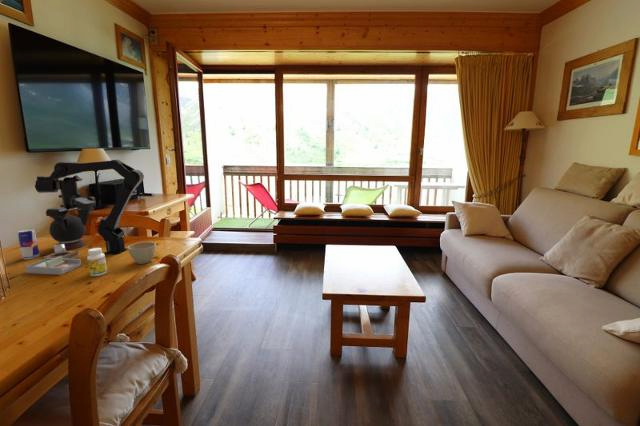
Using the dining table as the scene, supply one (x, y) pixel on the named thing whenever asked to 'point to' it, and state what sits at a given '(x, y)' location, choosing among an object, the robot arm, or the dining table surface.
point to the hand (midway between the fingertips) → (75, 227)
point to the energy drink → (28, 244)
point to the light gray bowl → (142, 252)
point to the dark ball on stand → (69, 233)
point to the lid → (52, 262)
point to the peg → (59, 249)
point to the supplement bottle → (96, 262)
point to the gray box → (56, 270)
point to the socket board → (68, 255)
